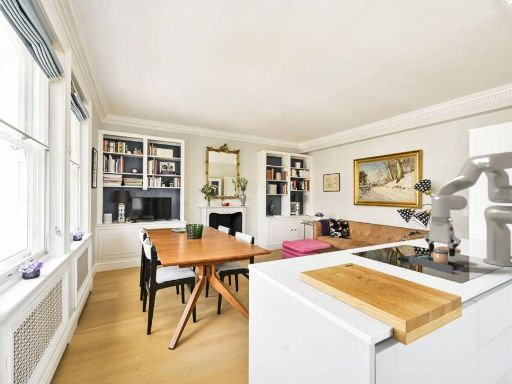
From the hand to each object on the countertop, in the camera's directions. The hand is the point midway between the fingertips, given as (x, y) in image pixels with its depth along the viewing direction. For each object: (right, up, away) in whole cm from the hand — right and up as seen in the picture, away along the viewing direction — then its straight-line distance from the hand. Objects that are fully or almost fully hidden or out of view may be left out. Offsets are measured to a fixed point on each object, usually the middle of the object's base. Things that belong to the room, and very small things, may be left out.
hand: (441, 254), depth 127 cm
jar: (-1, -7, 0) cm, 7 cm away
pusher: (-4, -7, +8) cm, 11 cm away
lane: (-2, -7, +3) cm, 8 cm away
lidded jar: (+12, -8, +11) cm, 18 cm away
